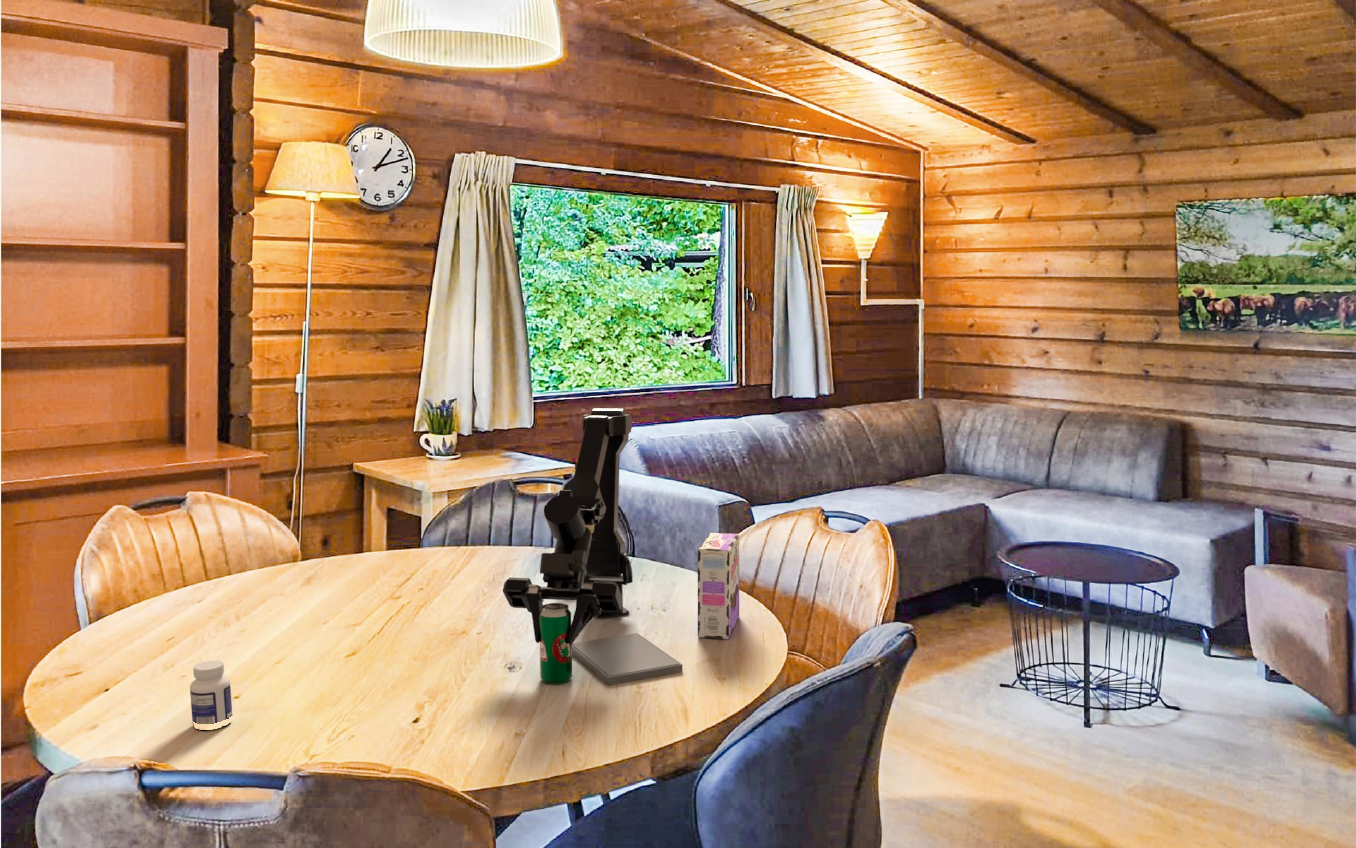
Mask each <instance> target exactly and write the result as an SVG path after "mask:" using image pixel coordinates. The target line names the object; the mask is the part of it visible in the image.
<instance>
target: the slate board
mask: <svg viewBox="0 0 1356 848" xmlns="http://www.w3.org/2000/svg"><path fill="white" fill-rule="evenodd" d="M572 656H573V657H575V658H576V659H577V660H579V661H580V662H581V664H583V665H584V666H586V667H587V668H588V669H589V670H590V671H591V672H592V673H593V674H595V675H596V676H597V677H598V678H599V679H601V680H602V681H603V682H604V683H605V684H606V685H608V686H611V685H616V684H617V685H618V684H622V683H627V682H628V683H629V682H633V681H637V680H644V679H651V678H655V677H656V678H657V677H659V676H660V677H661V676H667V675H672V674H677V673H683V664H682V663H681V662H680V661H678V660H676V659H675V658H674V657H672V656H671V655H669V653H667V652H666V651H664V650H662V649H661V648H659V647H658V646H657V645H655V644H654V643H652V642H651V641H649V640H648V639H646V638H645V637H644V636H642V635H640V634H639V632H635V633H627V634H623V635H616V636H610V637H603V638H599V639H598V638H597V639H592V640H585V641H579V642H573V643H572Z"/></svg>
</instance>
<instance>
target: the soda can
mask: <svg viewBox="0 0 1356 848" xmlns="http://www.w3.org/2000/svg"><path fill="white" fill-rule="evenodd" d="M569 607H570V606H569V604H567V603H563V602H550V603H546V604H543V606H542V607H541V611H540V613H539V638H540V641H539V669H540V670H539V671H540V672H539V673H540V675H539V676H540V677H539V678H540V679H541V680H542V681H543V682H544V683H545V684H548V685H549V684H550V685H561V684H565V683H567V682H569V681H570V680H571V679H572V677H573V654H572V645H570V644H569V643H568V638H569V632H570V628H571V624H572V612H571V610H570V609H569Z"/></svg>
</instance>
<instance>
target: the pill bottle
mask: <svg viewBox="0 0 1356 848" xmlns="http://www.w3.org/2000/svg"><path fill="white" fill-rule="evenodd" d="M193 678H195V679H194V680H193V681H191V683H190V685H189V694H190V706H191V707H190V708H191V720H192V721H193V722H195V723H197V724H214V723H217V722H221V721H223V720H226V719H229V717H231V716H233V705H232V704H233V703H232V693H231V692H232V691H231V689H232V688H231V680H230V678H229V677H228V676H227V675H225V664H224V662H223V661H221V660H215V659H214V660H206V661H202V662H198V663H195V665H194V666H193ZM193 722H192V723H193Z"/></svg>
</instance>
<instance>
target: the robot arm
mask: <svg viewBox="0 0 1356 848" xmlns="http://www.w3.org/2000/svg"><path fill="white" fill-rule="evenodd" d="M582 422H583V423H582V430H583V431H582V434H583V435H582V438H581V439H582V440H581V442H580V444H581V445H580V448H579V453H578V457H577V462H576V466H575V468H574V469H575V470H574V474H573V477H571V479H569V480H568V481H567V482H566V483H565V484H564V485H563V488H562V489H560V490H559V493H558V495H557V496H554V497H552V498H550V499H549V500H548V501H547V503H546V504H545V505H544V508H543V515H544V518H545V520H546V523H547V526H548V528H549V531H550V533H551V535H552V538H554V539H555V540H556V543H555V547H554V552H542V553H541V557H540V565H539V567H540V568H539V574H541V575H543V577H542V580H543V582H544V583H547V584H546V586H541V585H538V584H533V583H532V580H531V578H529V577H508V579H506V581H504V584H503V588H502V593H503V594H504V597H505V599H506V601H507V602H508V604H509V606H510V607H512V608H514V609H526V611H527V613H531V618H532V624H533V625H532V627H533V632H534V640H535V642H536V643H537V644H540V638H539V613H540V611H541V607H542V606H543V605H544V604H543V603H544V600H558V601H559V600H562V601H575V609H574V613H573V618H572V620H571V628H570V632H569V638H568V643H569V644H570V645H572V643H575V641H576V639H578V637H579V635H580V634H581V633H582V631H583V630H584V629H585V627H586V626H587V625H588V623H590V622H591V621H592V620H593V618H595V617H596V618H597V619H604V618H605V619H606V618H611V617H612V618H614V617H619V616H625V615H630V610H628V609H626V608H625V607H624V594H623V593H624V592H623V591H624V590H623V588H624V587H623V586H627V585H628V584H632V583H633V581H634V580H633V577H634V576H633V568H632V565H631V560H630V559H629V554H628V553H627V552H626V543H625V541H624V539H623V537H622V535H621V534H620V532H619V531H618V529H619V527H618V526H619V525H618V523H619V495H620V493H619V491H620V457H621V456H620V455H621V453H622V452H623V450H624V448H626V446H627V444H628V443H629V437H630V433H631V432H632V427H633V419H632V415H631V414H629V413H627V410H626V409H625V408H611V407H610V408H607V407H606V408H604V407H601V408H598V407H597V408H596V407H595V408H592V410H591V412H590V413H586V414H583V415H582ZM586 525H594V531H593V533H591V532H590V530H589V529H588V528H587V527H586ZM583 581H584V583H583ZM584 584H592V586H591V588H583V585H584Z"/></svg>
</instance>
